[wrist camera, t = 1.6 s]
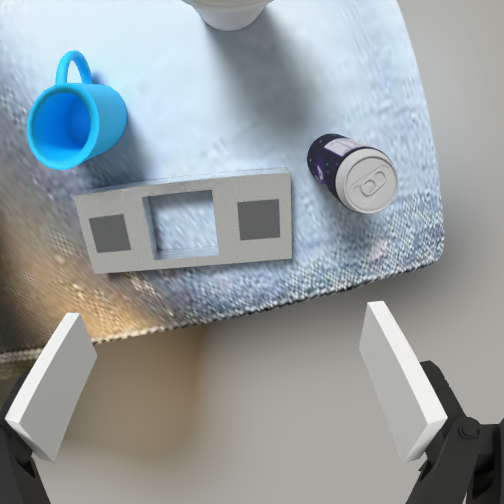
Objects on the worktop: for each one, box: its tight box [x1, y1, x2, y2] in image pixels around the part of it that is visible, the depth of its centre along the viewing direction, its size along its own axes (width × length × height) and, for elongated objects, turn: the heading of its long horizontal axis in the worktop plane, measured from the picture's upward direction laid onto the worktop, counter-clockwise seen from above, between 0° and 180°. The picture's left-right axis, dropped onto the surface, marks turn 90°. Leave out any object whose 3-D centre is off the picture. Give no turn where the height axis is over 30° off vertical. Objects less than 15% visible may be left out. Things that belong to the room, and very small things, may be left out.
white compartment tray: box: [74, 168, 292, 274], centre depth 36 cm, size 24×10×3 cm, turn 93°
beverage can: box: [307, 134, 398, 214], centre depth 29 cm, size 6×6×12 cm
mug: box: [27, 50, 127, 170], centre depth 26 cm, size 12×8×8 cm
